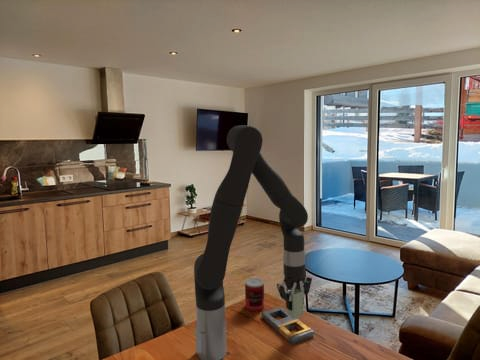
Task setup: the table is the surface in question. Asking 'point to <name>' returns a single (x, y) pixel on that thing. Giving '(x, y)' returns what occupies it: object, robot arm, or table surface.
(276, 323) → the grey yellow flat board
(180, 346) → the table surface
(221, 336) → the robot arm
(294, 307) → the sage block
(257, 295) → the canned food
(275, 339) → the table surface
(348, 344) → the table surface
